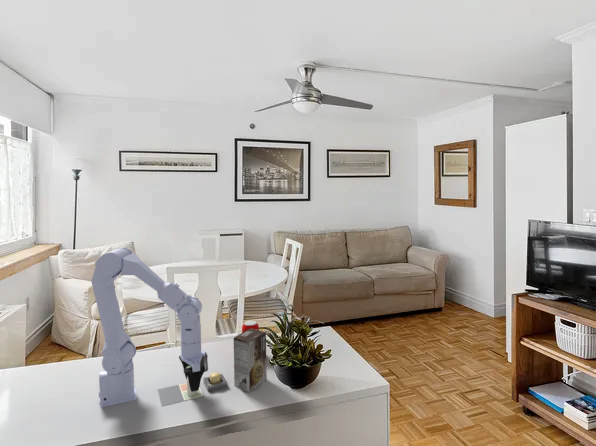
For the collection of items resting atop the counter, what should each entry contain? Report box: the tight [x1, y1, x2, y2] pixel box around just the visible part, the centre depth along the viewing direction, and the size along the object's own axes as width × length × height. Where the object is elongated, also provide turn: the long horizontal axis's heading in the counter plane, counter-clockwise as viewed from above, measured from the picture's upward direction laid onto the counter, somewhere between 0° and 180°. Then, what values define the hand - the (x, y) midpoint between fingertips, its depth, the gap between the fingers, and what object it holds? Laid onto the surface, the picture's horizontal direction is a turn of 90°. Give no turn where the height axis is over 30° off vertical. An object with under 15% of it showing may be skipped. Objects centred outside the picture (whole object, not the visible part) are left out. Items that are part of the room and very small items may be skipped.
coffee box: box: [233, 328, 267, 393], centre depth 122 cm, size 9×6×16 cm
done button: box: [209, 372, 221, 385], centre depth 120 cm, size 3×3×2 cm
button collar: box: [203, 373, 228, 393], centre depth 120 cm, size 6×6×2 cm
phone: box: [200, 351, 209, 372], centre depth 135 cm, size 8×1×15 cm
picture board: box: [157, 382, 205, 407], centre depth 116 cm, size 12×10×1 cm
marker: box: [186, 366, 198, 397], centre depth 115 cm, size 3×3×8 cm
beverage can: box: [241, 320, 260, 333], centre depth 143 cm, size 6×6×12 cm
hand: (192, 384), depth 115 cm, fingers open, 7 cm apart
